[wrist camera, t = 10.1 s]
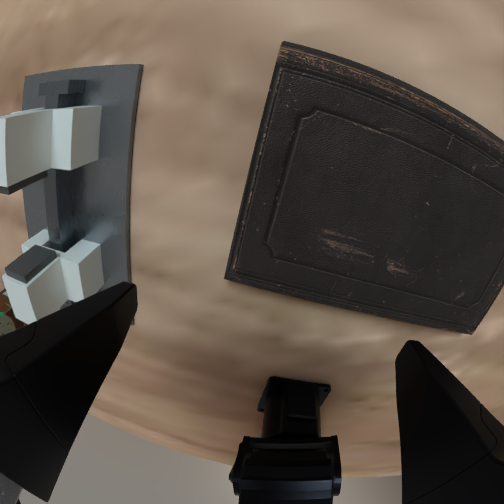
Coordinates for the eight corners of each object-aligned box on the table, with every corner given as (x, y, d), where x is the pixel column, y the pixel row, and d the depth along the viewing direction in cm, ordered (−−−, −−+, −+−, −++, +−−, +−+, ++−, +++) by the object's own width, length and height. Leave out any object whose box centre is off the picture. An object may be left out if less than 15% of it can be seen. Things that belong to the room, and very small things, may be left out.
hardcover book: (462, 320, 23) (471, 335, 21) (229, 262, 23) (223, 279, 20) (534, 170, 15) (550, 177, 13) (283, 45, 15) (282, 37, 13)
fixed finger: (98, 167, 19) (27, 200, 12) (38, 161, 19) (-28, 189, 12) (102, 105, 17) (24, 116, 10) (39, 107, 17) (-31, 123, 10)
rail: (133, 321, 26) (122, 339, 24) (43, 288, 26) (29, 301, 24) (143, 64, 16) (124, 61, 13) (29, 76, 16) (8, 77, 14)
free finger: (104, 283, 24) (58, 339, 17) (50, 265, 24) (2, 310, 17) (100, 237, 21) (42, 288, 15) (43, 223, 22) (-13, 262, 15)
